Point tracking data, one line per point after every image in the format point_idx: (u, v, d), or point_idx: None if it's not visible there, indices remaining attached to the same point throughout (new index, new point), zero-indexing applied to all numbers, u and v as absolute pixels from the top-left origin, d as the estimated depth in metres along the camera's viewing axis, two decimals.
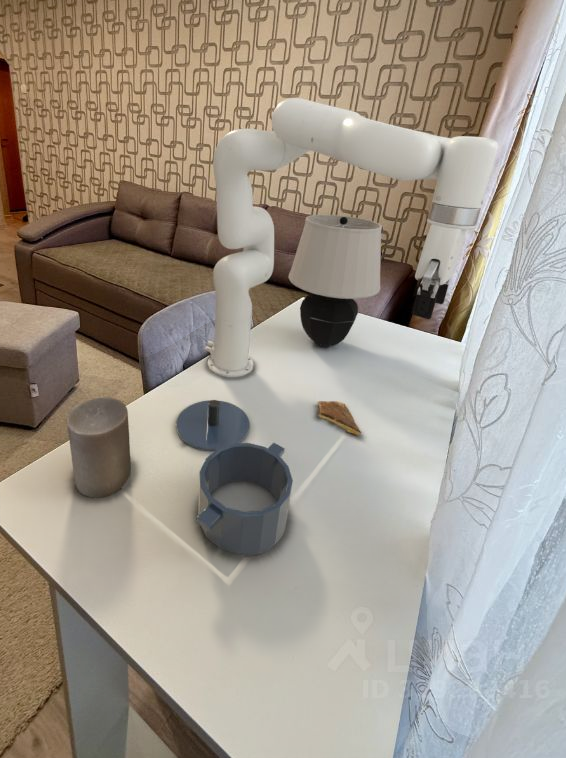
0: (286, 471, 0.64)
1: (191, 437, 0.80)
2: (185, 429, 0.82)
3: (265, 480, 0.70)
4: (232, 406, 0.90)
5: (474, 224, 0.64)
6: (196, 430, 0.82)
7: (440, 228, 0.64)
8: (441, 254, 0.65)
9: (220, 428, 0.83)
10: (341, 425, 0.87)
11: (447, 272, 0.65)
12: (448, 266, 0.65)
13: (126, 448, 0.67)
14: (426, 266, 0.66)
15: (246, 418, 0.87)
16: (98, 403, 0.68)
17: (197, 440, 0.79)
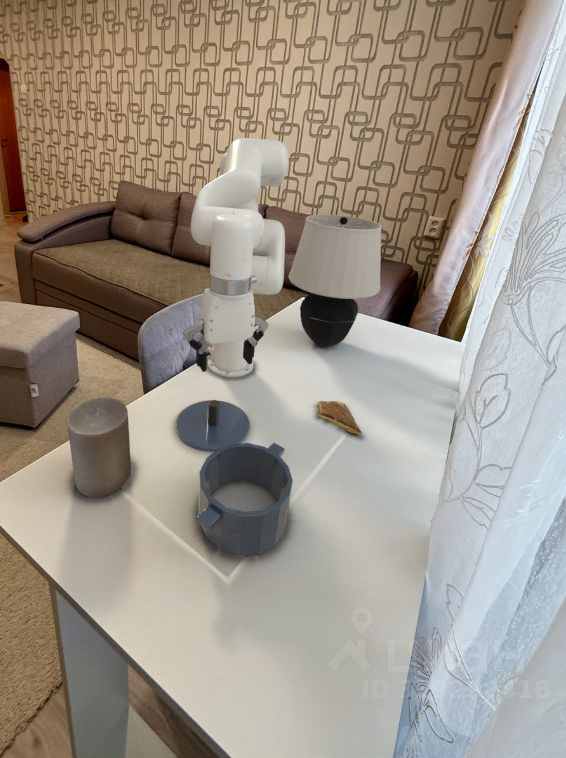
0: (286, 471, 0.64)
1: (191, 437, 0.80)
2: (185, 429, 0.82)
3: (265, 480, 0.70)
4: (232, 406, 0.90)
5: (232, 294, 0.69)
6: (196, 430, 0.82)
7: (205, 293, 0.72)
8: (204, 316, 0.72)
9: (220, 428, 0.83)
10: (341, 425, 0.87)
11: (210, 333, 0.72)
12: (209, 328, 0.72)
13: (126, 448, 0.67)
14: None
15: (246, 418, 0.87)
16: (98, 403, 0.68)
17: (197, 440, 0.79)
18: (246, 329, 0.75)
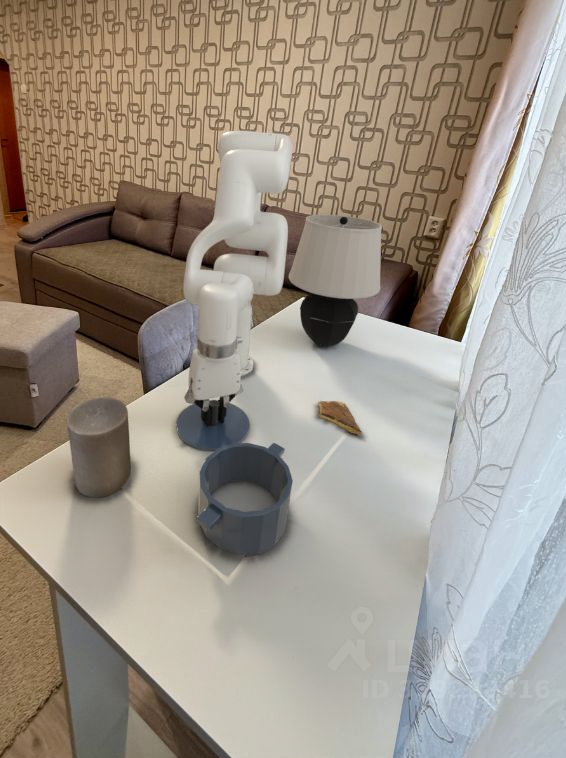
0: (286, 471, 0.64)
1: (191, 437, 0.80)
2: (185, 429, 0.82)
3: (265, 480, 0.70)
4: (232, 406, 0.90)
5: (218, 357, 0.74)
6: (196, 430, 0.82)
7: (193, 354, 0.77)
8: (192, 375, 0.77)
9: (220, 428, 0.83)
10: (342, 425, 0.87)
11: (198, 391, 0.77)
12: (197, 386, 0.77)
13: (126, 448, 0.67)
14: (189, 381, 0.80)
15: (246, 418, 0.87)
16: (98, 403, 0.68)
17: (197, 440, 0.79)
18: (232, 385, 0.80)
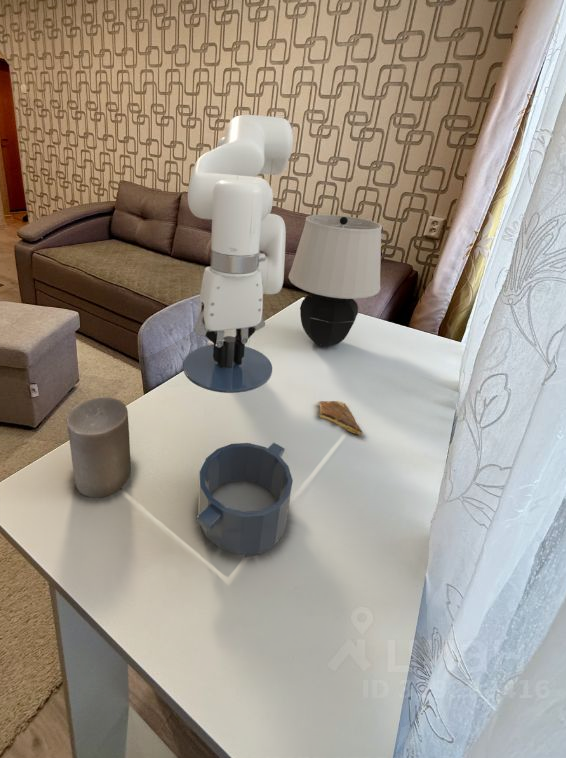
0: (286, 471, 0.64)
1: (202, 378, 0.65)
2: (194, 370, 0.67)
3: (265, 480, 0.70)
4: (250, 349, 0.75)
5: (237, 272, 0.59)
6: (208, 371, 0.67)
7: (205, 272, 0.62)
8: (204, 298, 0.62)
9: (237, 370, 0.68)
10: (342, 425, 0.87)
11: (211, 318, 0.62)
12: (209, 312, 0.62)
13: (126, 448, 0.67)
14: (200, 308, 0.65)
15: (267, 361, 0.71)
16: (98, 403, 0.68)
17: (209, 381, 0.64)
18: (253, 315, 0.65)
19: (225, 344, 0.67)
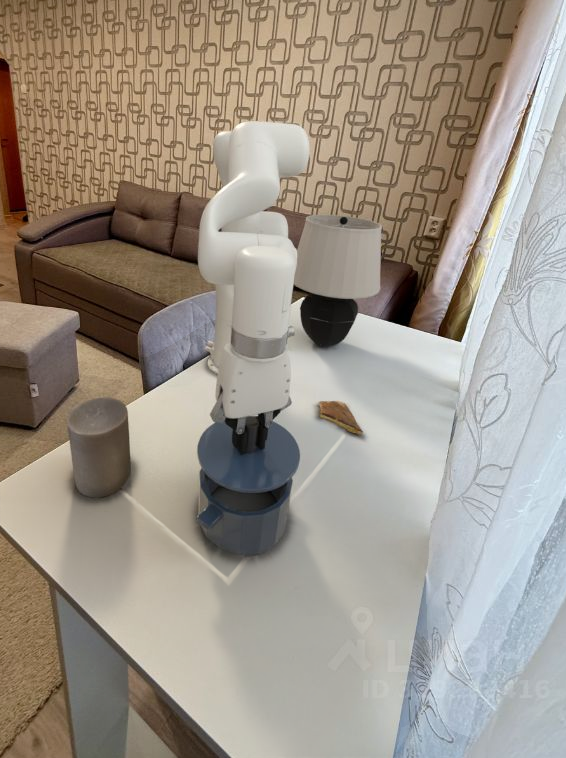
0: None
1: (220, 471, 0.56)
2: (210, 459, 0.58)
3: None
4: (272, 424, 0.66)
5: (264, 357, 0.50)
6: (226, 460, 0.58)
7: (225, 352, 0.53)
8: (223, 383, 0.53)
9: (260, 457, 0.59)
10: (343, 425, 0.87)
11: (232, 406, 0.53)
12: (230, 399, 0.53)
13: (126, 448, 0.67)
14: (217, 391, 0.55)
15: (293, 442, 0.62)
16: (98, 403, 0.68)
17: (229, 476, 0.55)
18: (279, 397, 0.56)
19: (246, 428, 0.58)
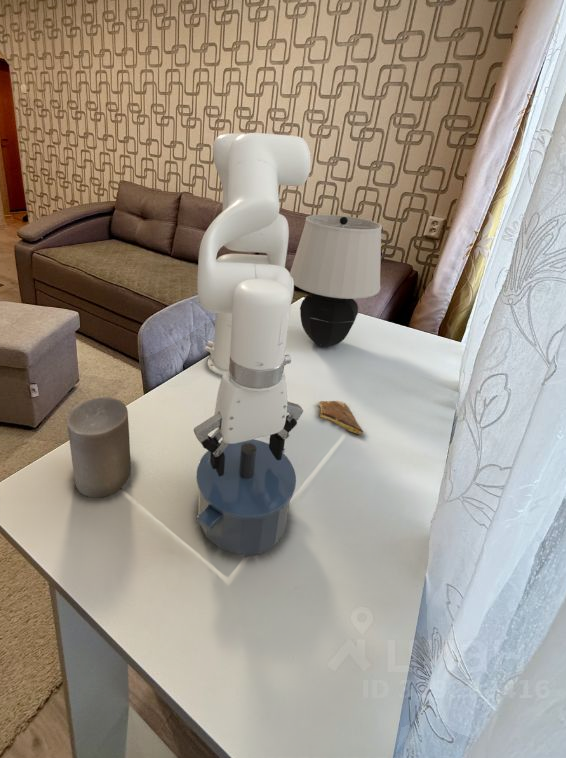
0: None
1: (218, 497, 0.58)
2: (209, 485, 0.60)
3: None
4: None
5: (261, 387, 0.52)
6: (224, 486, 0.60)
7: (223, 380, 0.54)
8: (222, 410, 0.55)
9: (257, 482, 0.61)
10: (343, 425, 0.87)
11: (230, 432, 0.55)
12: (228, 426, 0.54)
13: (126, 448, 0.67)
14: None
15: (289, 466, 0.64)
16: (98, 403, 0.68)
17: (227, 502, 0.57)
18: (276, 423, 0.58)
19: (244, 455, 0.60)
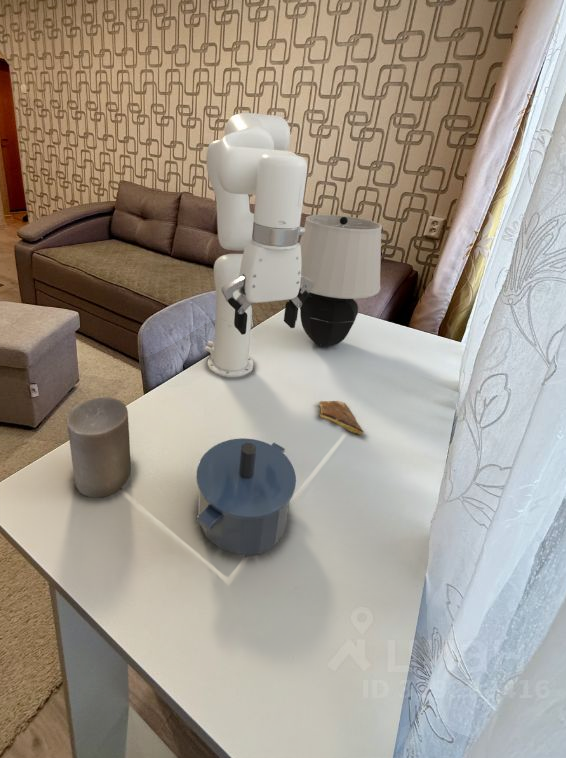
0: None
1: (218, 497, 0.58)
2: (209, 485, 0.60)
3: None
4: (269, 447, 0.68)
5: (280, 245, 0.61)
6: (224, 486, 0.60)
7: (247, 244, 0.64)
8: (246, 270, 0.64)
9: (257, 482, 0.61)
10: (343, 425, 0.87)
11: (252, 290, 0.64)
12: (251, 284, 0.64)
13: (126, 448, 0.67)
14: None
15: (289, 466, 0.64)
16: (98, 403, 0.68)
17: (227, 502, 0.57)
18: (291, 287, 0.67)
19: (244, 455, 0.60)
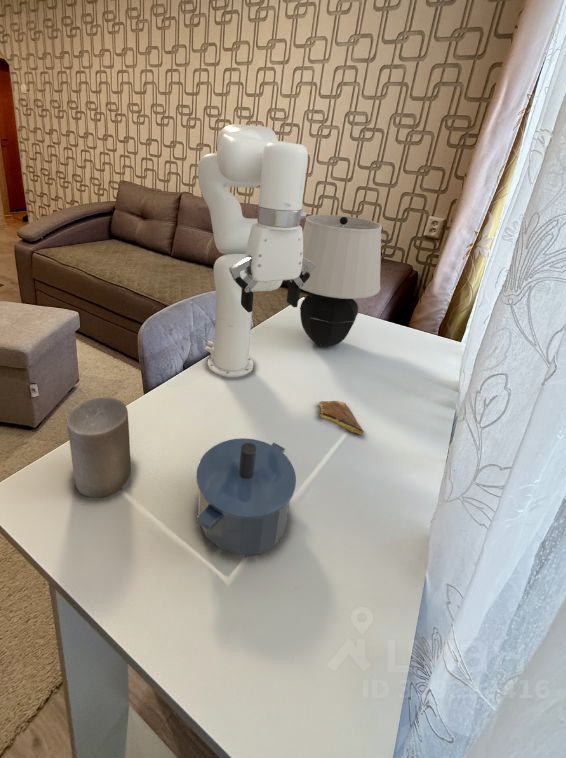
0: None
1: (218, 497, 0.58)
2: (209, 485, 0.60)
3: None
4: (269, 447, 0.68)
5: (283, 226, 0.66)
6: (224, 486, 0.60)
7: (253, 227, 0.69)
8: (252, 251, 0.69)
9: (257, 482, 0.61)
10: (343, 425, 0.87)
11: (258, 269, 0.69)
12: (257, 263, 0.69)
13: (126, 448, 0.67)
14: None
15: (289, 466, 0.64)
16: (98, 403, 0.68)
17: (227, 502, 0.57)
18: (294, 267, 0.72)
19: (244, 455, 0.60)
